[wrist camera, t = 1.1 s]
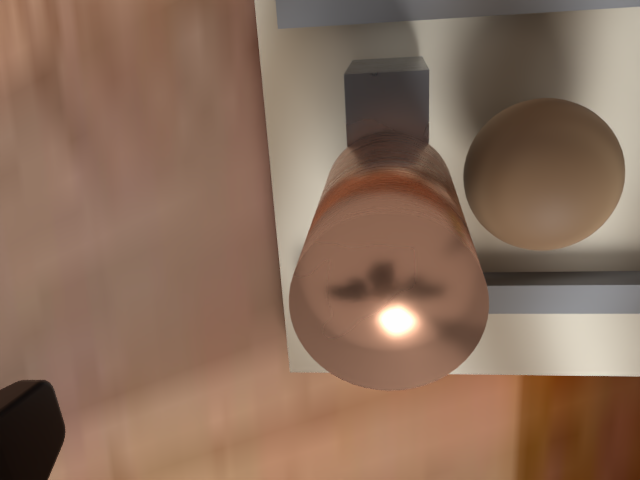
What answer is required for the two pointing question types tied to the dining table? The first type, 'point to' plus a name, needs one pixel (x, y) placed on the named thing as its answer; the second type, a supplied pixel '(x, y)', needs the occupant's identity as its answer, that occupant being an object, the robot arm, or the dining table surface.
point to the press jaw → (388, 244)
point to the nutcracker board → (453, 145)
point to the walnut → (544, 174)
